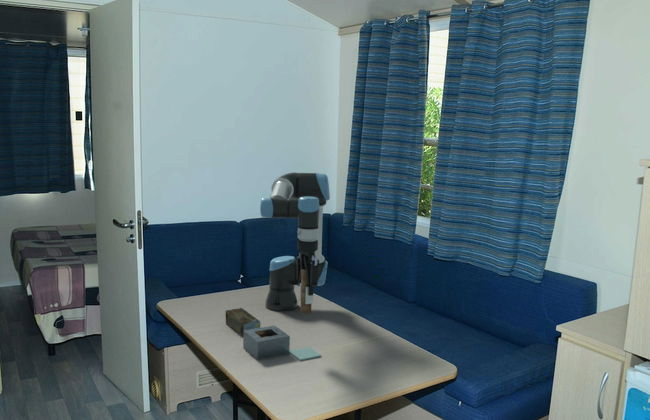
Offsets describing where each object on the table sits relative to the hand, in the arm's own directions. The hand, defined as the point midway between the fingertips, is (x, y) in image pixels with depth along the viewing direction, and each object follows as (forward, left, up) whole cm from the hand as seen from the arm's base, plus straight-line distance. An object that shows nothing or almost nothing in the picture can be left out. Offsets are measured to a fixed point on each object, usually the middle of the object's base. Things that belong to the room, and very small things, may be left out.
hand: (306, 301), depth 220 cm
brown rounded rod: (0, 0, -4) cm, 4 cm away
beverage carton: (+10, -36, -21) cm, 43 cm away
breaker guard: (+11, -10, -21) cm, 25 cm away
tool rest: (0, 0, -21) cm, 21 cm away
